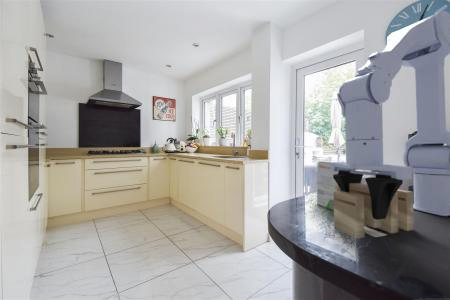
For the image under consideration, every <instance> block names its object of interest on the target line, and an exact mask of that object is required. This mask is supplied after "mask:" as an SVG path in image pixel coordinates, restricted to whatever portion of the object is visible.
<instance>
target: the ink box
mask: <svg viewBox="0 0 450 300" xmlns="http://www.w3.org/2000/svg"><path fill="white" fill-rule="evenodd" d="M331 162H332V161H317V162H316V163H317V166H316V167H317V171H316V173H317V174H316V184H317V185H316V204H317V205H319V206H321V207H324V208H326V209H329V210H331V211H333V212H334V191H341V190H340V188H339V186H338V184H337V183H336V181H335V180H334V178H333V175H334V174H338V173H339V172H338V171H336V172H334V171H330V163H331ZM354 171H356V170H354Z"/></svg>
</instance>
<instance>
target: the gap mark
mask: <svg viewBox="0 0 450 300" xmlns="http://www.w3.org/2000/svg"><path fill="white" fill-rule="evenodd" d="M364 229H365V234H367V235H369V236H371V237H374V238H378V237H379V238H380V237H385V236H387V233H384V232H382V231H378V230H375V229H374V228H372V227H371V228H370V227H369V226H366V225H364Z"/></svg>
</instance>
